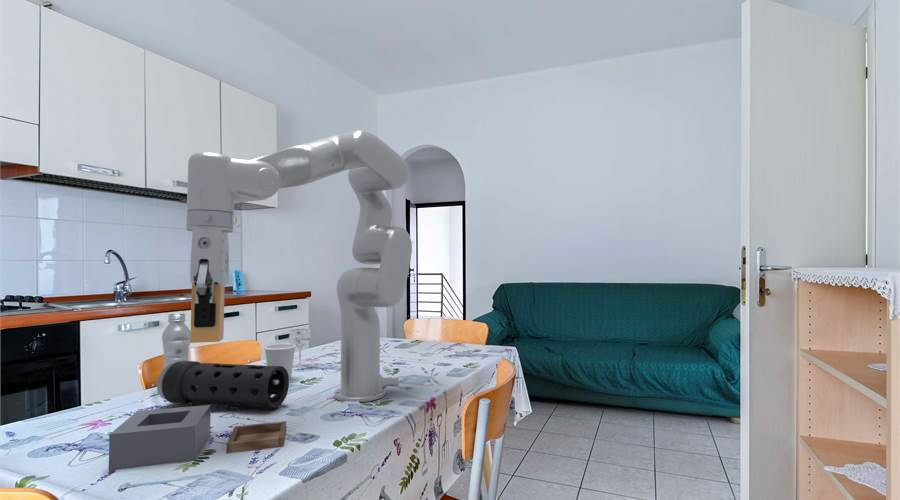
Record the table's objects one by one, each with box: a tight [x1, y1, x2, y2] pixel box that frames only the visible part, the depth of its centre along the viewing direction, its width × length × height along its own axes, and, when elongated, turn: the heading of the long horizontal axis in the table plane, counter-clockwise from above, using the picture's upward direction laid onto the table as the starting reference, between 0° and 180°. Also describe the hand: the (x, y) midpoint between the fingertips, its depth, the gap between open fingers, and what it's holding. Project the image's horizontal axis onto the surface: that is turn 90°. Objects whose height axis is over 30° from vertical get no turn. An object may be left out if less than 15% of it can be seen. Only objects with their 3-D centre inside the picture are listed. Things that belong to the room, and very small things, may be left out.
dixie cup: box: [263, 342, 297, 384], centre depth 127 cm, size 8×8×10 cm
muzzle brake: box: [156, 360, 290, 411], centre depth 104 cm, size 10×28×10 cm, turn 78°
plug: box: [190, 283, 226, 344], centre depth 81 cm, size 4×4×12 cm
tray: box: [225, 420, 287, 454], centre depth 83 cm, size 9×9×2 cm
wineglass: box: [288, 328, 312, 368], centre depth 144 cm, size 7×7×12 cm
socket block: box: [108, 405, 212, 474], centre depth 78 cm, size 12×12×6 cm
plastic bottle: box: [161, 313, 191, 370], centre depth 117 cm, size 6×7×20 cm
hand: (207, 324), depth 81 cm, fingers closed on plug, 4 cm apart
